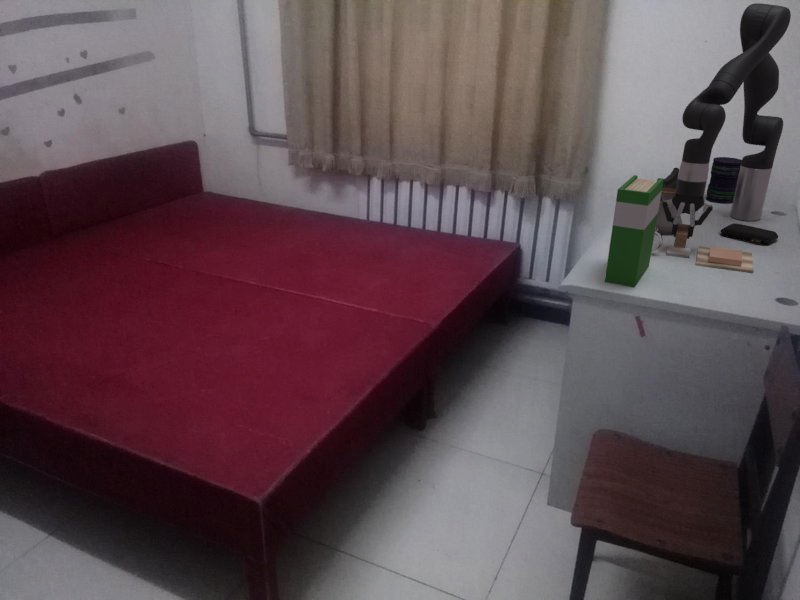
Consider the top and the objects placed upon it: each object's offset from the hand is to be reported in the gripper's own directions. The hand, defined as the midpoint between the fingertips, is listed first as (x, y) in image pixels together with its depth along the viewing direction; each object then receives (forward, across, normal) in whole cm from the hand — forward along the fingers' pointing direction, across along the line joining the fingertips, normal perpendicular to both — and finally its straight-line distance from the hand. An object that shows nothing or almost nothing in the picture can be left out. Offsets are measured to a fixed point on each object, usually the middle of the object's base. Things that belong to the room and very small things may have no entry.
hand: (681, 236), depth 188 cm
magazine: (+4, +8, -52) cm, 53 cm away
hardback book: (+4, +11, +27) cm, 29 cm away
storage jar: (+4, -10, -66) cm, 67 cm away
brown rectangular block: (+3, 0, +2) cm, 3 cm away
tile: (+2, -12, +1) cm, 12 cm away
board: (+4, -12, +4) cm, 13 cm away
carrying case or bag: (+4, -18, -21) cm, 28 cm away
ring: (+4, +8, +8) cm, 12 cm away
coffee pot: (+4, +7, -13) cm, 15 cm away
